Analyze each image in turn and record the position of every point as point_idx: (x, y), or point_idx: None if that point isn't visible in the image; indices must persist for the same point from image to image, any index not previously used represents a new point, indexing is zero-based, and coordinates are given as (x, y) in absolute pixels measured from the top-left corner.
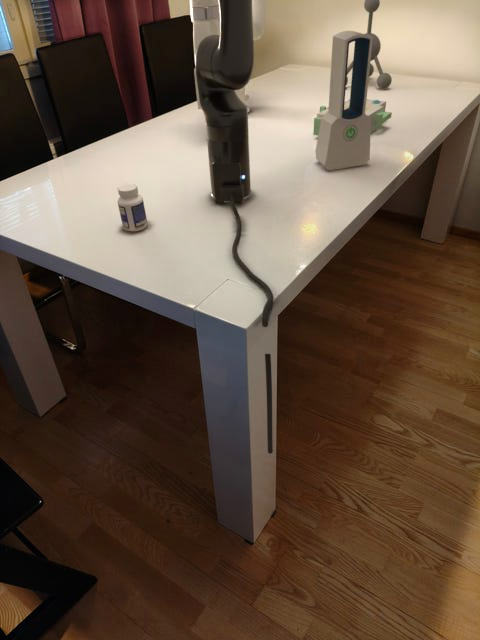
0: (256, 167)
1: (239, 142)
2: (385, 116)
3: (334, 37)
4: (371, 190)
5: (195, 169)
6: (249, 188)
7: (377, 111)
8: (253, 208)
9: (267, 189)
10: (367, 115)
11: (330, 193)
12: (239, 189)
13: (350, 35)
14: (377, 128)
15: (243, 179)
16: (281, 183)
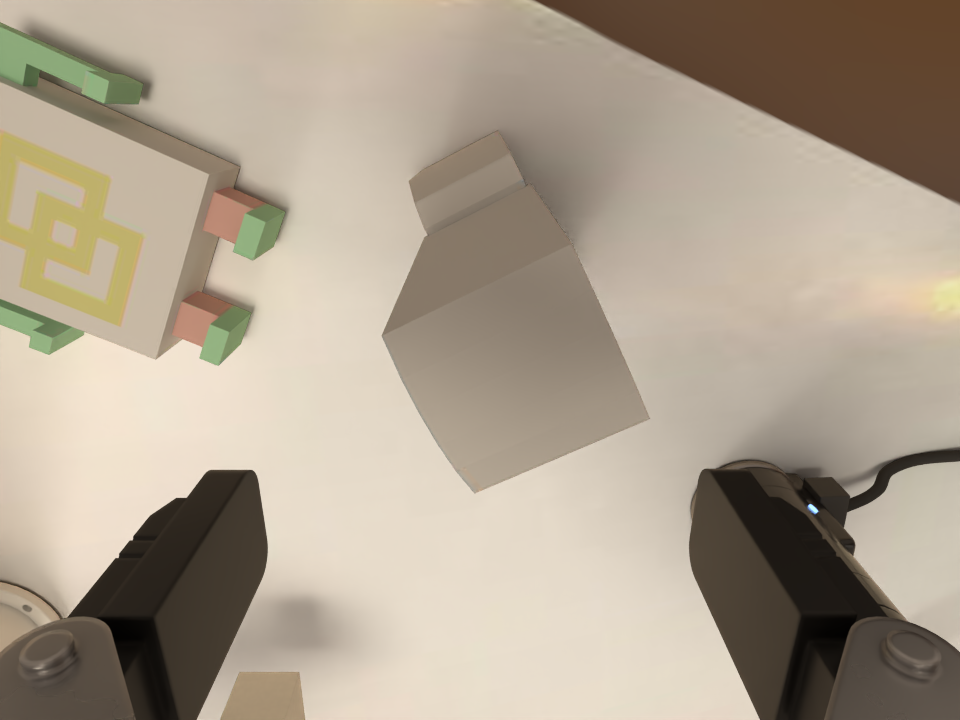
0: (534, 477)
1: (872, 580)
2: (60, 55)
3: (497, 481)
4: (724, 124)
5: (555, 617)
6: (768, 475)
7: (35, 95)
8: (820, 442)
9: (699, 426)
10: (134, 146)
11: (739, 253)
12: (848, 500)
13: (601, 399)
14: (139, 91)
15: (808, 504)
16: (658, 395)
